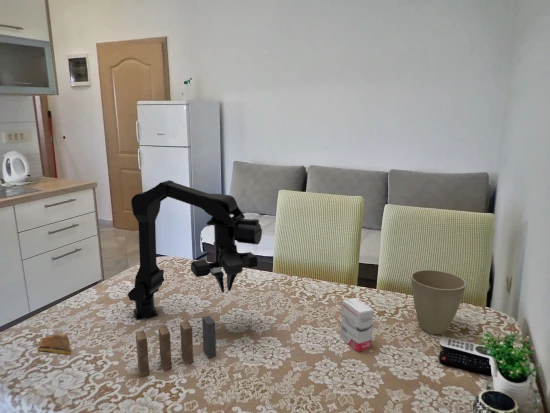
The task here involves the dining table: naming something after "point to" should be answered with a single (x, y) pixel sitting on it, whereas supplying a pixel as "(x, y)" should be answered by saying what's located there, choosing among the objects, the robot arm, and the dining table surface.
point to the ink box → (356, 324)
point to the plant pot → (436, 298)
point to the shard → (55, 344)
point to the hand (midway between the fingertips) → (225, 291)
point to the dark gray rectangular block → (209, 337)
